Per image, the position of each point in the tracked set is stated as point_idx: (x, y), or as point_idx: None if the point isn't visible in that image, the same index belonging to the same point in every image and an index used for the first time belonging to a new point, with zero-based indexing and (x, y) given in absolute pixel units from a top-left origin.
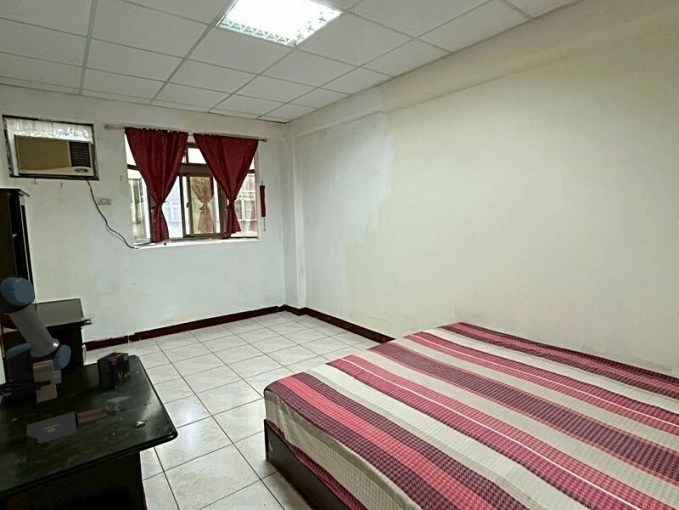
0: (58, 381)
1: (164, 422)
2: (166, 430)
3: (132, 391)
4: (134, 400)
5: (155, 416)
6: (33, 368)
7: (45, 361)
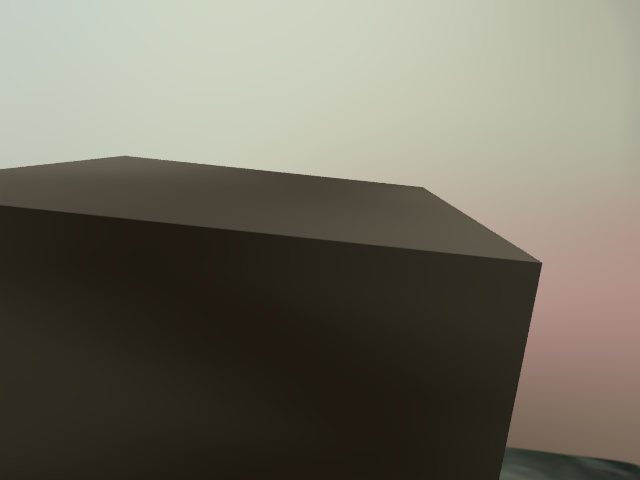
0: None
1: (547, 456)
2: (620, 469)
3: None
4: None
5: None
6: (528, 268)
7: (105, 166)
